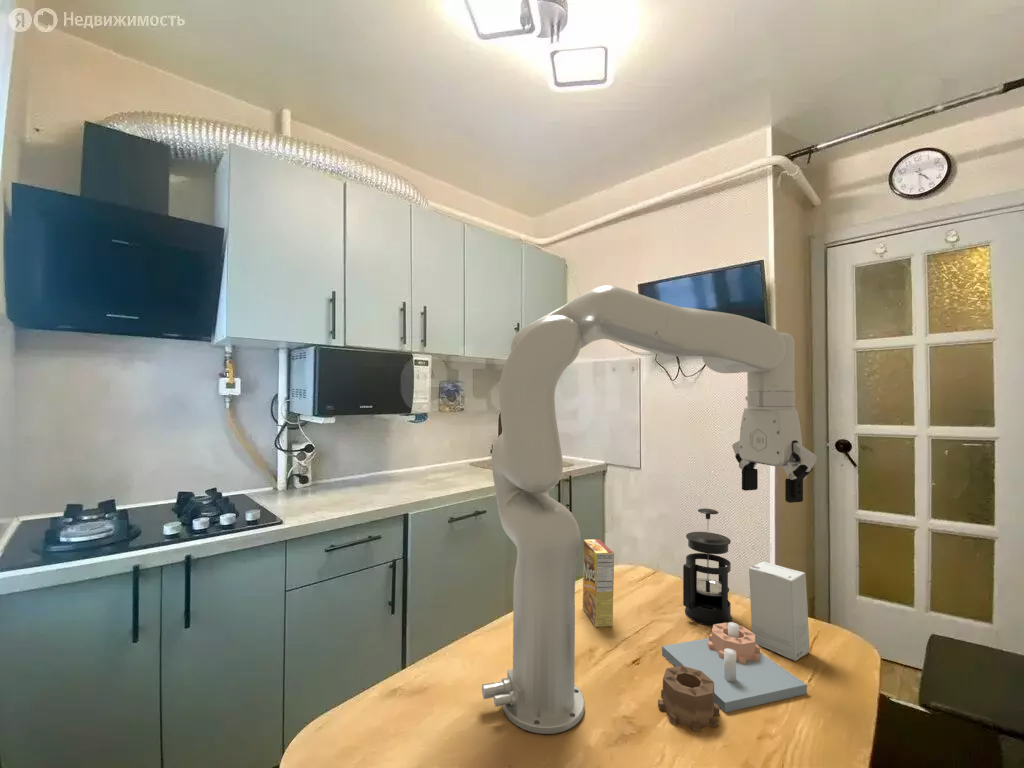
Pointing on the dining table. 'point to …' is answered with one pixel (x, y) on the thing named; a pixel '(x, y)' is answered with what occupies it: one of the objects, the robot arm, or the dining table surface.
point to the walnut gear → (689, 697)
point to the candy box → (598, 582)
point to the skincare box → (779, 609)
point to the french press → (702, 589)
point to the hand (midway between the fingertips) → (770, 495)
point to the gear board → (736, 668)
